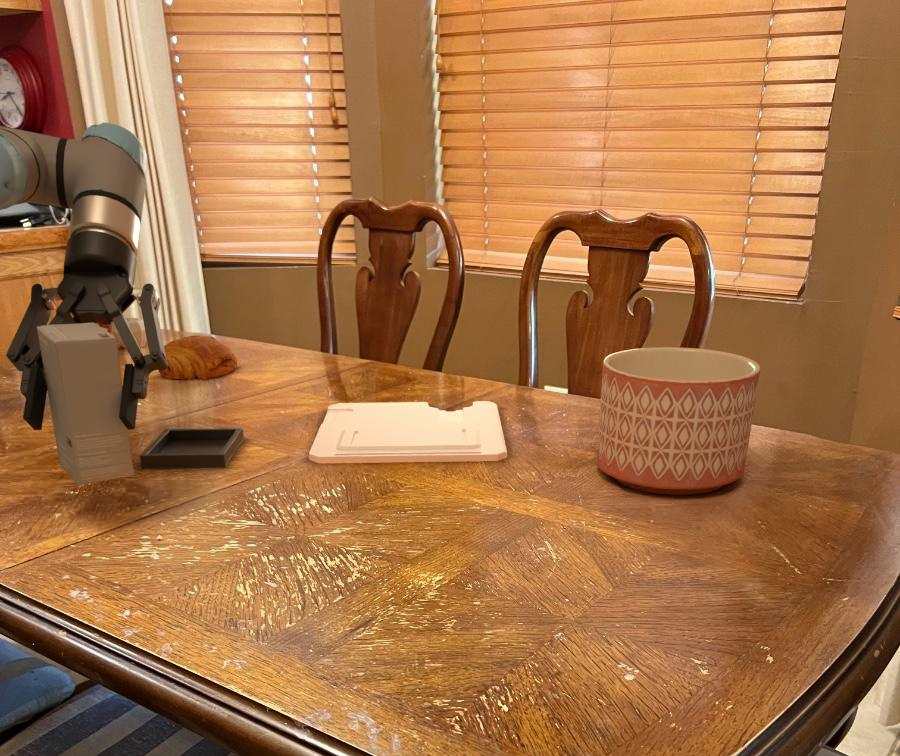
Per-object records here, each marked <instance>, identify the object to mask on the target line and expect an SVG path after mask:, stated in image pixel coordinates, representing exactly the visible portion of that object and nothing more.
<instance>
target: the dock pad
mask: <svg viewBox="0 0 900 756" xmlns="http://www.w3.org/2000/svg"><path fill="white" fill-rule="evenodd" d="M244 437H245V436H244V429H243V427H227V428H226V427H225V428H224V427H223V428H221V427H219V428H217V427H215V428H214V427H213V428H165V429H164V430H163V431H162V432H161V433H160V434H159V435H158V436H157V437H156V438H155V439H154V440H153V441H152V443H151V444H150V445H148V446H147V448H146V449H145V450H144V451H143V452H142V453H141V454H139V459H140V465H141V469H142V470H151V469H152V470H154V469H157V470H159V469H161V470H163V469H164V470H165V469H221V468H222V469H226V468H227V467H228V465H229V463H230V462H231V461H232V459H233V458H234V456H235V454H236V453H237V452H238V450H239V449H240V447H241V446H242V444H243V443H244V441H245V438H244Z"/></svg>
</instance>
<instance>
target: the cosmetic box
mask: <svg viewBox="0 0 900 756" xmlns="http://www.w3.org/2000/svg"><path fill="white" fill-rule="evenodd" d="M108 330H109V328H106V327H102V326H100V325H99V324H98V323H79V324H56V325H49V324H47V325H43V326H38V327H37V331H38V337H39V343H40V349H41V355H42V361H43V367H44V373H45V379H46V385H47V397H48V401H49V408H50V414H51V421H52V428H53V433H54V439H55V446H56V449H57V451H56V452H57V457H58V458H57V459H58V463H59V466H60V467H61V468H62V469H63V470H64V471H65V473H66V474H67V475H68V476H69V477H70V478H71V480H73V481H74V482H75V483H76V484H77V485H79V486H80V485H87V484H93V483H98V482H103V481H108V480H115V479H121V478H126V477H130V476H134V475H135V470H134V464H133V463H134V462H133V456H132V449H131V440H130V434H129V433H130V432H129V430H128V429H127V428H126V426H125V425H124V424H123V422H122V421H121V419H120V418H119V413H120V404H121V396H122V387H123V378H122V370H121V361H120V354H119V347H118V342H117V340H116V337H114V334H111V333H110V332H109V331H108Z"/></svg>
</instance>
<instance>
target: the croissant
mask: <svg viewBox="0 0 900 756" xmlns="http://www.w3.org/2000/svg"><path fill="white" fill-rule="evenodd" d="M164 349H165V354H166V359H167V364H168V367H167V369H166V370H164V371H160V370H158V373H159V375H161V376H162V377H164V378H165V379H168V380H189V381H190V380H198V381H204V380H209V379H215V378H220V377H222V376H226V375H229V374H230V373H231V372H233V371H234V370H235V369H236V368H237V366H238V359H237V357H236V356H235V354H234V353H233V350H231V348H230V347H229V346H227V345H226V344H224V343H223V342H220V341H218V339H216V338H215V337H214V336H209V335H208V336H207V335H190V336H189V335H188V336H182V337H181V338H177V339H175V340H172V341H170V342H168V343H166V344H165V345H164Z"/></svg>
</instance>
